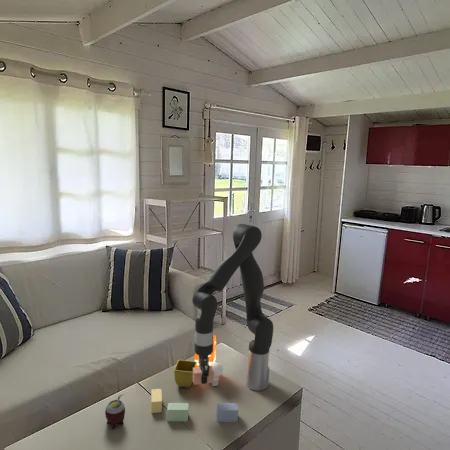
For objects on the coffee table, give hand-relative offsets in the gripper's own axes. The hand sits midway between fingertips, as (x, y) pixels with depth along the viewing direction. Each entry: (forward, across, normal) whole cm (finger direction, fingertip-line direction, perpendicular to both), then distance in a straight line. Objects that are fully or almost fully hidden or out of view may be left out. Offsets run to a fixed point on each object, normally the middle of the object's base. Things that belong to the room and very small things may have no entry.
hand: (203, 379), depth 142 cm
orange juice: (+13, +23, -4) cm, 26 cm away
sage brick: (+12, -5, +11) cm, 17 cm away
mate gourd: (+11, -5, +34) cm, 36 cm away
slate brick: (+12, -8, -8) cm, 17 cm away
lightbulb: (+13, +13, -7) cm, 19 cm away
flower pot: (+12, +16, +6) cm, 21 cm away
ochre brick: (+12, +3, +19) cm, 22 cm away
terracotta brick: (0, 0, 0) cm, 0 cm away
